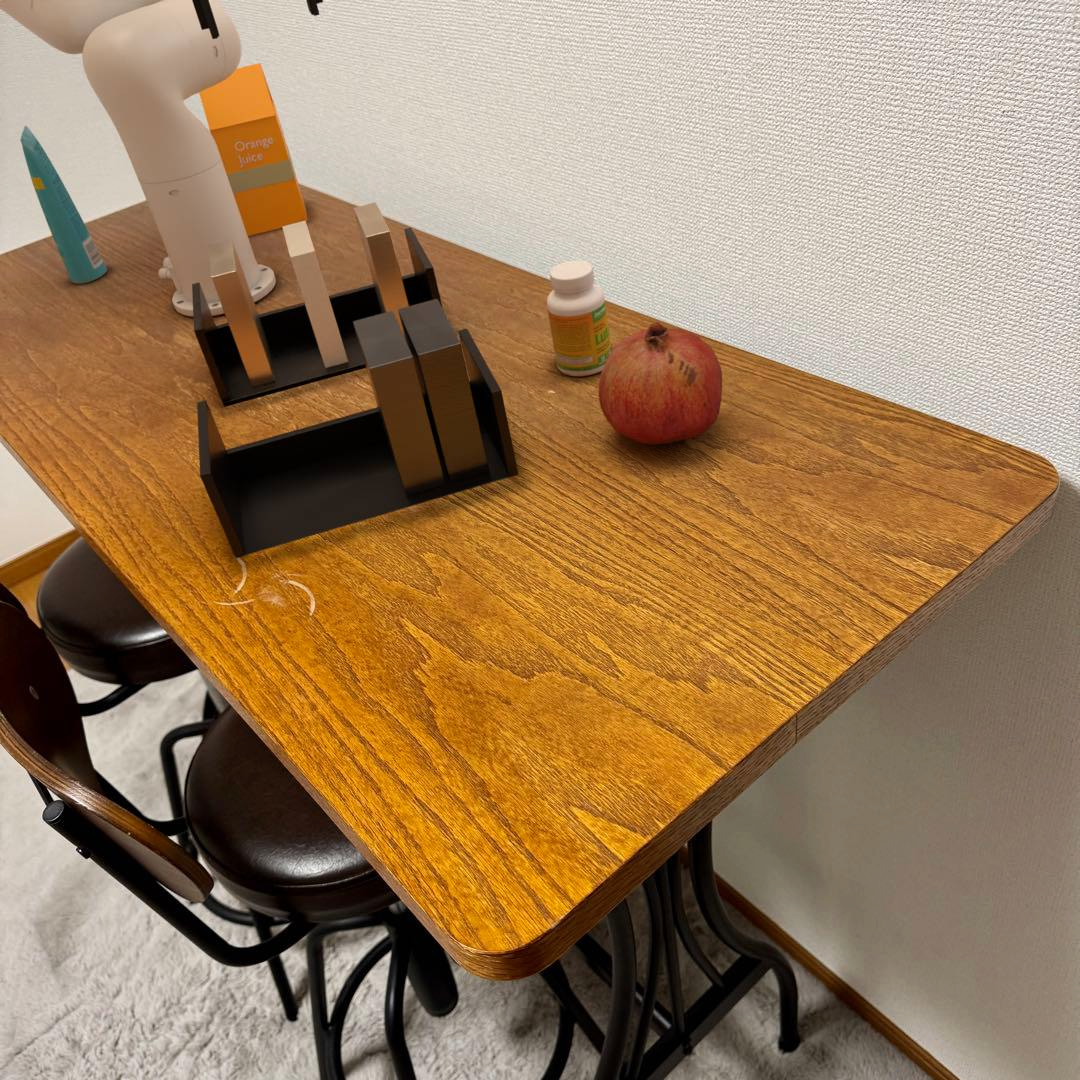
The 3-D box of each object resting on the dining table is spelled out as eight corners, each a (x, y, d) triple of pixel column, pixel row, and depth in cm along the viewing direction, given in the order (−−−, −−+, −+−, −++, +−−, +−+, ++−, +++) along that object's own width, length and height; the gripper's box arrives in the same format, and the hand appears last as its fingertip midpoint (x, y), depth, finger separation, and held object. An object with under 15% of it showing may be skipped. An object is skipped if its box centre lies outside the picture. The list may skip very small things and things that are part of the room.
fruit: (752, 435, 87) (748, 326, 81) (657, 484, 83) (645, 375, 77) (673, 389, 94) (664, 287, 88) (582, 433, 91) (566, 330, 85)
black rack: (239, 567, 83) (180, 430, 75) (232, 489, 93) (179, 360, 85) (520, 484, 86) (491, 343, 78) (486, 416, 96) (457, 285, 88)
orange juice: (244, 218, 149) (194, 71, 137) (305, 203, 150) (260, 56, 138) (245, 237, 143) (193, 85, 131) (308, 221, 144) (262, 69, 132)
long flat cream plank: (325, 368, 106) (290, 257, 99) (315, 332, 113) (282, 226, 106) (348, 362, 106) (314, 250, 99) (337, 326, 114) (305, 220, 106)
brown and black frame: (225, 411, 104) (178, 291, 96) (221, 360, 114) (177, 247, 106) (452, 348, 107) (424, 227, 99) (429, 304, 117) (402, 190, 109)
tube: (70, 272, 143) (4, 130, 131) (105, 262, 144) (43, 119, 132) (72, 291, 137) (4, 143, 126) (109, 280, 138) (45, 133, 127)
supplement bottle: (608, 377, 98) (595, 280, 92) (552, 379, 99) (536, 284, 93) (616, 348, 102) (604, 254, 96) (562, 351, 103) (547, 258, 97)
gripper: (297, -211, 93) (348, -2, 104) (103, -172, 91) (175, 38, 102) (305, -211, 88) (358, 10, 98) (98, -170, 85) (175, 53, 96)
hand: (265, 24), depth 100 cm, fingers open, 9 cm apart
